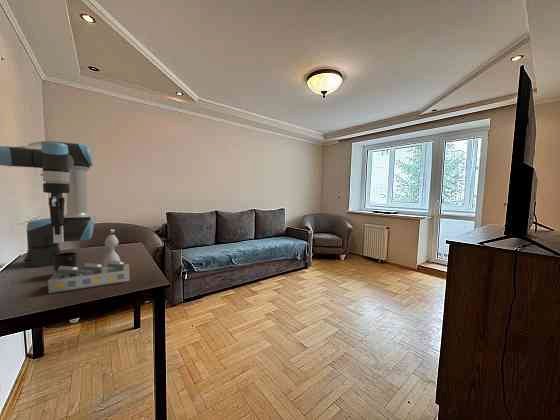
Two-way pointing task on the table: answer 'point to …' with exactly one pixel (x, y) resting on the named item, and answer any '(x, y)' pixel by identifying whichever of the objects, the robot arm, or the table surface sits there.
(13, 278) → the table surface
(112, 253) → the figurine
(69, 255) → the mug
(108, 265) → the switch
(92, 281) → the console
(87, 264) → the switch
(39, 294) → the table surface
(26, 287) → the table surface
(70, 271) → the switch
